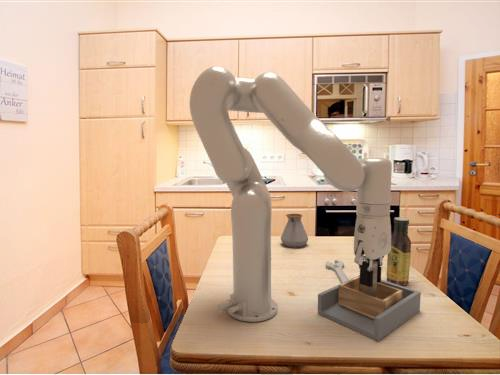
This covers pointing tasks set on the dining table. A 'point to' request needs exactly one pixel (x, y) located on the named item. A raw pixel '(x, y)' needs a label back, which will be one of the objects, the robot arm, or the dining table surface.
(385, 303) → the crate
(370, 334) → the bay
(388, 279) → the sauce bottle
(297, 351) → the dining table surface
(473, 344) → the dining table surface
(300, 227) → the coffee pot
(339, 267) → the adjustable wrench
